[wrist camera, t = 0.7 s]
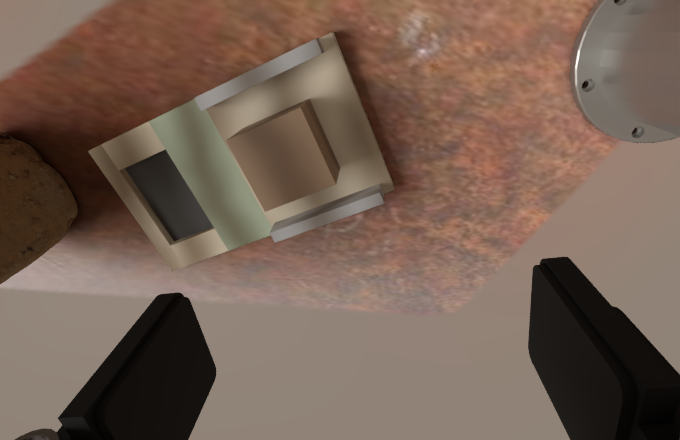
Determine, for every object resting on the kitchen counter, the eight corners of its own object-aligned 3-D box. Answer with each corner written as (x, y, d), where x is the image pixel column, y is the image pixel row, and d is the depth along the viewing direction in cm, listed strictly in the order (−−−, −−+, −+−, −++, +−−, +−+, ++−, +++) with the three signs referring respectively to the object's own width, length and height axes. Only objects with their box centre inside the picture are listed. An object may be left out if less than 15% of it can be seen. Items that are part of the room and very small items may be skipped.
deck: (333, 31, 29) (329, 32, 26) (394, 185, 34) (396, 199, 31) (95, 147, 34) (71, 157, 32) (176, 265, 39) (162, 283, 36)
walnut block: (309, 98, 30) (300, 107, 26) (340, 167, 32) (336, 184, 29) (242, 128, 31) (225, 140, 28) (276, 192, 34) (265, 211, 30)
